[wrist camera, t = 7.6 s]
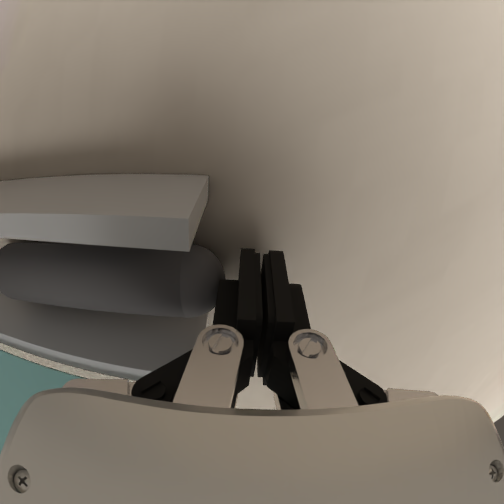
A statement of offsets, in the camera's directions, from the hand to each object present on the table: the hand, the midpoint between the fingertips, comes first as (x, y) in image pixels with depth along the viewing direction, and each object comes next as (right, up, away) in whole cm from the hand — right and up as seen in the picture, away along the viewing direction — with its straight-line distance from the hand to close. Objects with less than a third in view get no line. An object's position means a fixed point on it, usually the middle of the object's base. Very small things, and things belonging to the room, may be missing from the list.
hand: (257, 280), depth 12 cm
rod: (-8, +1, +1) cm, 8 cm away
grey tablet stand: (-11, +1, +1) cm, 11 cm away
